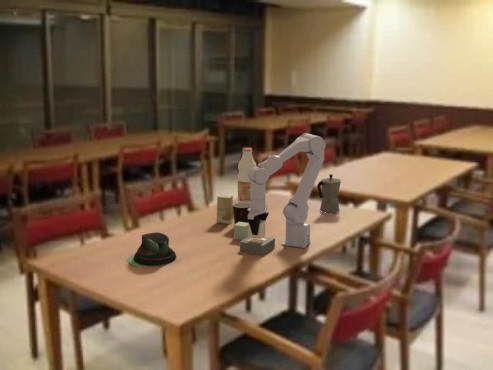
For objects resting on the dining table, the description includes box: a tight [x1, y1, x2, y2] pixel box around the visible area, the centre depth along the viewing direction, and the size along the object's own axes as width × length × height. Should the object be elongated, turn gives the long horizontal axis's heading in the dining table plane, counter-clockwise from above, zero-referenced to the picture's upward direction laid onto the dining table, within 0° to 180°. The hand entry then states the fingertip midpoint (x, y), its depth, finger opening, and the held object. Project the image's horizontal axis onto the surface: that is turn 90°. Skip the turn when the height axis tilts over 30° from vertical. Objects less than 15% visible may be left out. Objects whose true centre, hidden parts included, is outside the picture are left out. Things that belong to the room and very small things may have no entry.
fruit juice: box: [237, 147, 257, 203], centre depth 290 cm, size 9×9×28 cm
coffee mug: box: [232, 202, 250, 225], centre depth 252 cm, size 12×9×10 cm
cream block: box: [248, 220, 266, 239], centre depth 225 cm, size 5×5×6 cm
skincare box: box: [216, 194, 234, 225], centre depth 260 cm, size 6×4×12 cm
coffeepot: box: [316, 173, 342, 214], centre depth 278 cm, size 15×9×18 cm, turn 129°
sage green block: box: [233, 222, 248, 241], centre depth 240 cm, size 5×5×6 cm
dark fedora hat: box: [126, 232, 177, 269], centre depth 215 cm, size 20×20×9 cm
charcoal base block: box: [239, 236, 276, 256], centre depth 227 cm, size 10×10×4 cm
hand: (257, 232), depth 226 cm, fingers closed on cream block, 5 cm apart
